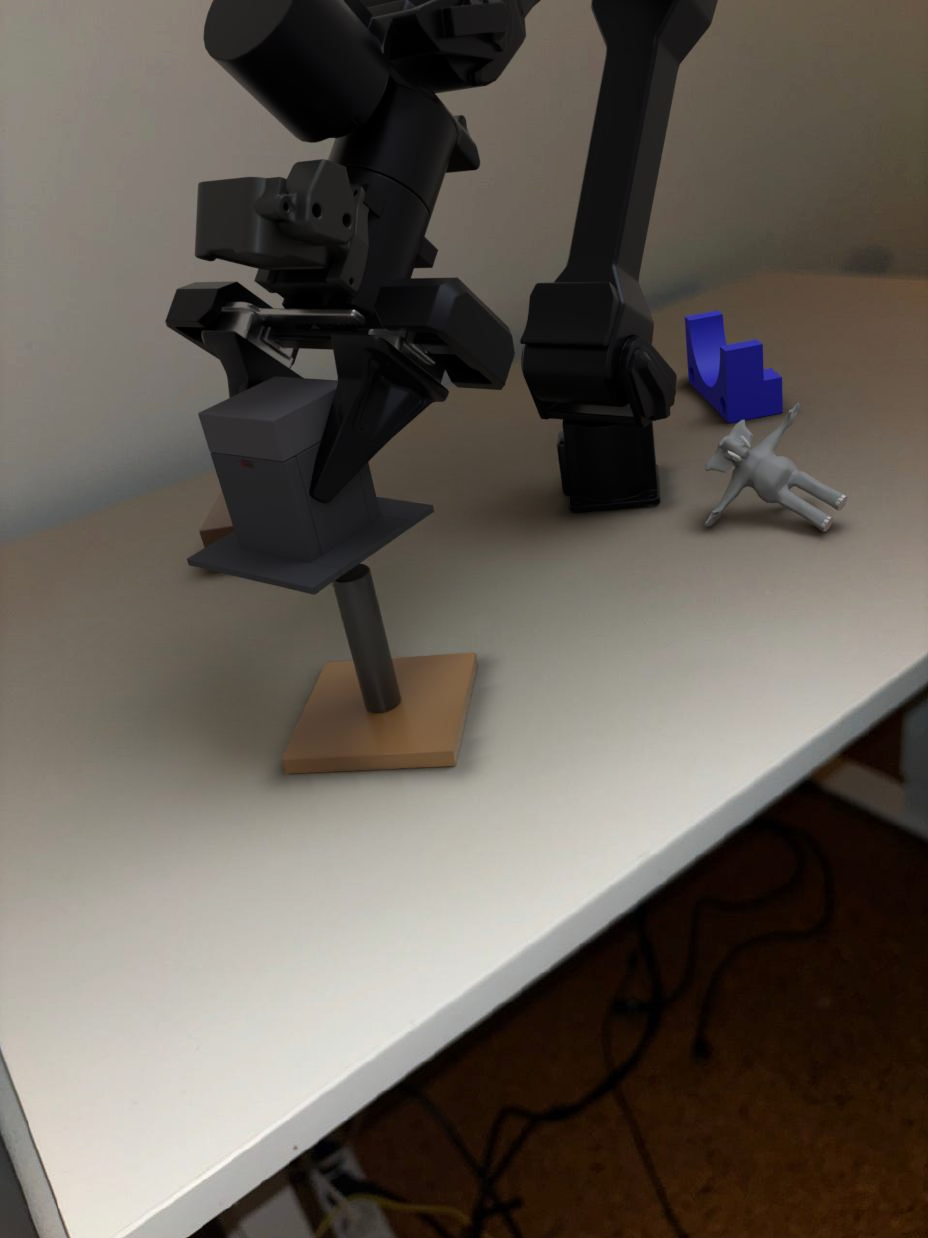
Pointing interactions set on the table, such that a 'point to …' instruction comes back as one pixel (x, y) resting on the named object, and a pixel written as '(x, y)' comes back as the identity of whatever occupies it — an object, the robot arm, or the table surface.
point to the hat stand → (380, 698)
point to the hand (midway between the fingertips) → (277, 493)
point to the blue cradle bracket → (730, 371)
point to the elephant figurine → (769, 474)
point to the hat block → (216, 523)
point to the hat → (290, 491)
